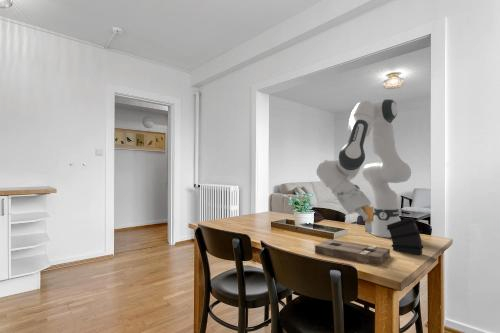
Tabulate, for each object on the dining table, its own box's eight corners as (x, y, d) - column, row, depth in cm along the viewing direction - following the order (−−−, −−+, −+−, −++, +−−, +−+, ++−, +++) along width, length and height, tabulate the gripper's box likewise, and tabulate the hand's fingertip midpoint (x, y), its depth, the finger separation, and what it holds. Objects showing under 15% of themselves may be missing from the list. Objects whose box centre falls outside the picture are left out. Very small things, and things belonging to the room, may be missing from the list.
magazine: (428, 253, 111) (410, 217, 116) (397, 260, 120) (381, 227, 125) (431, 251, 114) (413, 216, 118) (400, 258, 122) (385, 225, 127)
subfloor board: (329, 245, 130) (329, 238, 130) (389, 256, 113) (389, 248, 113) (315, 252, 119) (315, 245, 119) (379, 265, 102) (379, 256, 102)
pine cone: (327, 225, 177) (326, 209, 177) (320, 227, 169) (320, 211, 169) (301, 222, 188) (301, 207, 188) (294, 224, 180) (294, 209, 180)
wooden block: (365, 230, 114) (364, 206, 115) (374, 231, 112) (374, 206, 112) (362, 232, 112) (361, 207, 112) (371, 233, 109) (371, 207, 109)
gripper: (340, 188, 109) (367, 215, 102) (359, 185, 124) (382, 209, 118) (330, 198, 111) (354, 226, 105) (349, 194, 127) (372, 218, 121)
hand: (369, 217), depth 111 cm, fingers closed on wooden block, 4 cm apart
